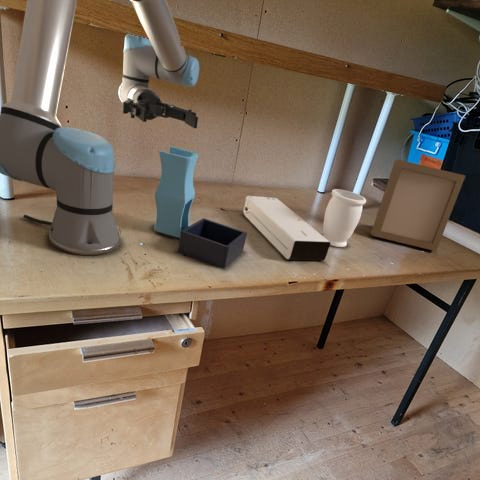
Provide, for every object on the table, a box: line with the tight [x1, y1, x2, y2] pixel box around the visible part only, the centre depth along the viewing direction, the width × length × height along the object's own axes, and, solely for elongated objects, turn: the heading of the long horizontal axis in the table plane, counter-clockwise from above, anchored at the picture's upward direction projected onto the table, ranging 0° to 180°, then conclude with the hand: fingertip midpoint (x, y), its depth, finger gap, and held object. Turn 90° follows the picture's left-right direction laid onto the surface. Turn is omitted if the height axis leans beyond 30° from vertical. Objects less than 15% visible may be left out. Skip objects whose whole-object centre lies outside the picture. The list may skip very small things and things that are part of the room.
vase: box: [153, 146, 199, 239], centre depth 106 cm, size 8×8×20 cm
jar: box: [321, 188, 367, 248], centre depth 125 cm, size 11×10×15 cm
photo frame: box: [370, 159, 466, 252], centre depth 139 cm, size 15×22×25 cm
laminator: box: [242, 195, 331, 262], centre depth 122 cm, size 34×12×6 cm, turn 22°
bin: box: [177, 217, 248, 269], centre depth 104 cm, size 13×13×6 cm
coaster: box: [154, 228, 185, 239], centre depth 111 cm, size 9×9×1 cm
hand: (171, 119), depth 104 cm, fingers open, 13 cm apart
